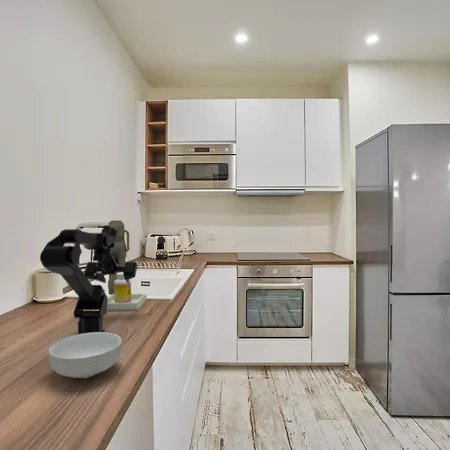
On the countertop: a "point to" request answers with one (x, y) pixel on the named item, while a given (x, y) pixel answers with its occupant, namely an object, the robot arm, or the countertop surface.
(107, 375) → the countertop surface
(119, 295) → the supplement bottle
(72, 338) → the cereal bowl
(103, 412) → the countertop surface
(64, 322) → the countertop surface
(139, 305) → the tray
